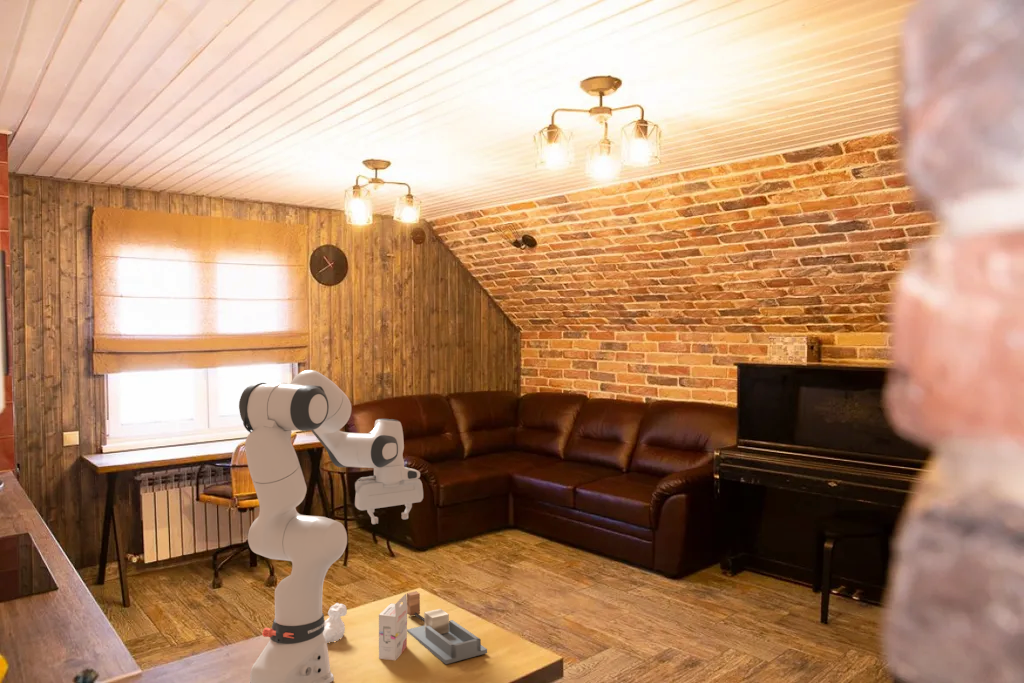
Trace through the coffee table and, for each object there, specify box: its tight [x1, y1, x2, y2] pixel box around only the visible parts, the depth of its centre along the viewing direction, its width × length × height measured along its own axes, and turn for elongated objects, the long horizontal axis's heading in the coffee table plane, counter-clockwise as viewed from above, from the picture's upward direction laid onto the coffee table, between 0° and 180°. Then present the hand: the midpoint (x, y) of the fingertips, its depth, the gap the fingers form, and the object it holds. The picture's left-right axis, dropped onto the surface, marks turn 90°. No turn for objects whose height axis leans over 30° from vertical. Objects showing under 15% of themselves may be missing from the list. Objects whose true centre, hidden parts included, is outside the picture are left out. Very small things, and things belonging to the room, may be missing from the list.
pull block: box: [406, 590, 450, 634], centre depth 211 cm, size 19×5×6 cm, turn 32°
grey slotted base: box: [407, 619, 488, 665], centre depth 200 cm, size 24×12×4 cm, turn 32°
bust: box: [323, 602, 348, 644], centre depth 203 cm, size 12×8×11 cm
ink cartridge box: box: [378, 593, 408, 661], centre depth 193 cm, size 9×5×15 cm, turn 168°
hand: (390, 521), depth 216 cm, fingers open, 8 cm apart
